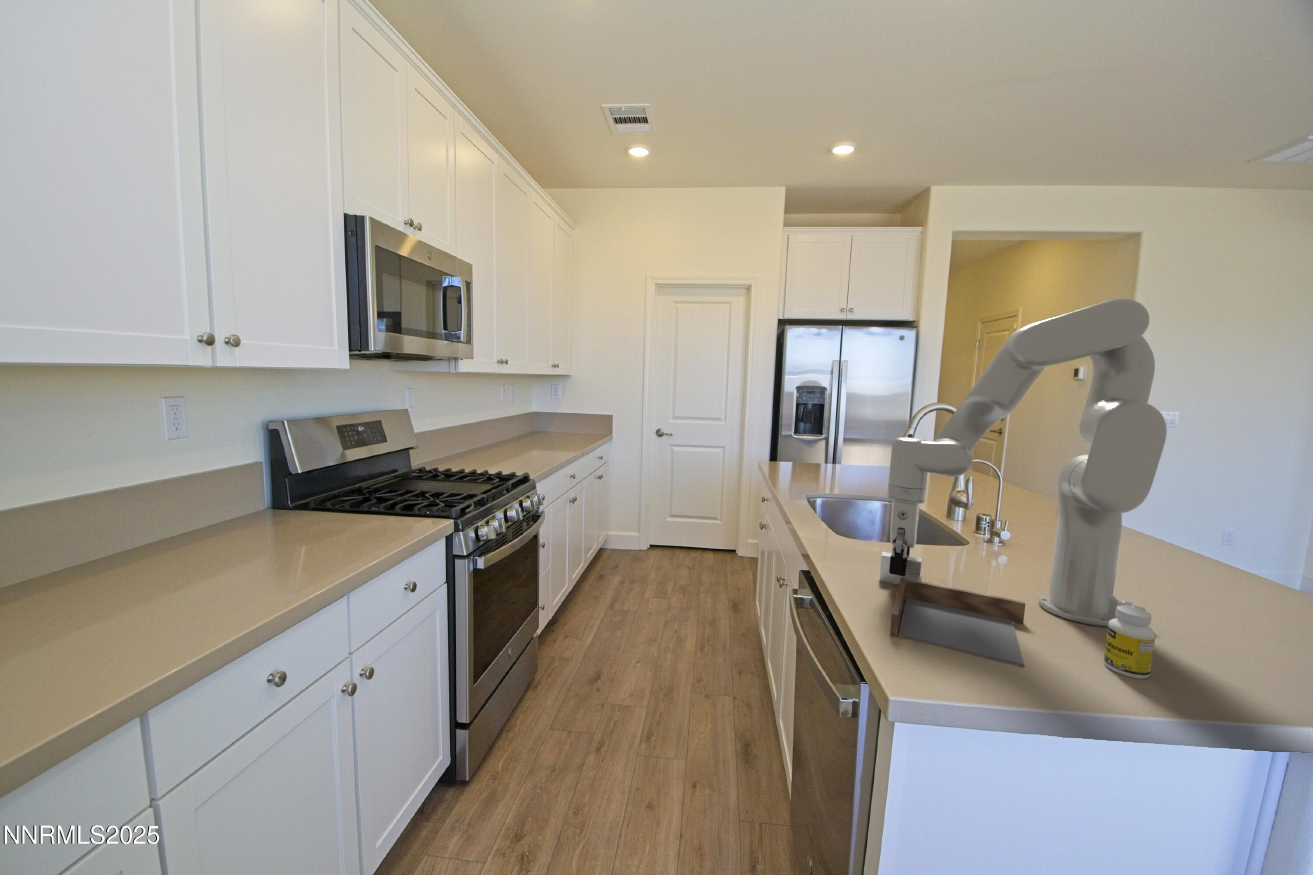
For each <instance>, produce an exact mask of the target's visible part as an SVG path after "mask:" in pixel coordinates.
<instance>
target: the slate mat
mask: <svg viewBox="0 0 1313 875" xmlns="http://www.w3.org/2000/svg"><path fill="white" fill-rule="evenodd" d="M901 616H902V617H901V619H900V621H901V622H900V624H899V629H898V636H899V637H901V638H907V639H910V640H913V641H914V640H915V641H919V642H922V643H926V644H931V645H935V646H939V647H943V648H946V649H950V650H955V651H960V652H963V653H968V654H970V655H975V656H979V657H983V658H987V659H991V660H996V661H999V662H1004V663H1008V664H1011V665H1016V666H1019V667H1025V663H1024V659H1023V656H1022V651H1021V647H1020V645H1019V640H1018V637H1017V633H1016V629H1015V626H1014V622H1012V620H1009V619H1004V618H999V617H994V616H990V615H985V614H980V613H975V612H971V611H966V610H961V609H957V608H952V607H947V606H942V605H938V604H933V603H928V602H923V601H919V600H914V599H909V598H906V599H905V600H904V605H903V610H902V614H901Z"/></svg>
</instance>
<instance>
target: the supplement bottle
mask: <svg viewBox="0 0 1313 875" xmlns="http://www.w3.org/2000/svg"><path fill="white" fill-rule="evenodd" d="M1116 617H1117V618H1114V619H1112V620H1110V621H1109V624H1108V626H1107V632H1106V639H1105V649H1104V654H1103V655H1104V656H1103V663H1104V665H1105V666H1106V667H1107V668H1109V669H1110V670H1111V671H1113V672H1114V673H1118V674H1120V675H1122V676H1124V677H1129V678H1133V679H1141V680H1143V679H1147V678H1149V677H1150V675H1151V671H1152V663H1153V657H1154V655H1153V654H1154V648H1155V641H1156V632H1155V630H1154V629H1153V628H1152V627H1150V625H1151V622H1152V614H1151V613H1150V612H1148V611H1147V610H1146V611H1144V610H1142V609H1138V608H1135V607H1130V606H1117V608H1116Z"/></svg>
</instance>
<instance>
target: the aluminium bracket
mask: <svg viewBox="0 0 1313 875" xmlns="http://www.w3.org/2000/svg"><path fill="white" fill-rule="evenodd" d="M880 555H881V557H880V567H879V568H880V570H879V581H880V580H882V581H881V582H885V581H886V583H889V582H890V583H891V584H894V583H896V585H899V584H900V580H901V577H904V578H907V579H910V580H916V581H921V577H922V563H923V558H921V557H916V556H912V555H911V556H910V555H909V556H906V558H907V564H906V574H905V576H899V575H894V574H890V573H889V567H890V557H891V555H892V552H889V551H888V552H887V551H882V553H881V554H880Z"/></svg>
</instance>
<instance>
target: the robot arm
mask: <svg viewBox="0 0 1313 875" xmlns="http://www.w3.org/2000/svg"><path fill="white" fill-rule="evenodd" d="M1149 324H1150V314H1149V311H1148V309H1147V308H1146V307H1145V306H1144V305H1143V304H1142V303H1140V302H1139V301H1136V300H1134V299H1129V298H1121V297H1120V298H1114V299H1113V298H1111V299H1108V300H1106V301H1102V302H1100V303H1096V304H1093V305H1091V306H1090V305H1089V306H1086V307H1083V308H1080V309H1077V310H1075V311H1072V312H1071V311H1070V312H1068V313H1067V312H1066V313H1065V314H1062V315H1058V316H1055V317H1051V318H1048V319H1047V318H1046V319H1045V320H1041V321H1036V322H1033V323H1030V324H1028V325H1025V326H1023V327H1021V328H1019V329H1017V330H1016V331H1014V332H1012V334H1010V336H1009V337H1008V338H1007V339H1006V340H1005V342H1004V343H1003V344H1002V346H1001V347H1000V348H999V350H998V351H997V353H995V356H994V357H993V359H992V360H991V361H990V362H989V364H988V365H987V367H986V368H985V370H984V371H983V373H982V374H981V375H980V377H978V379H977V381H976V382H975V383H974V385H973V386H972V387H971V389H970V391H969V392H968V393H967V394H966V395H965V397H964V399H963V400H962V401H961V403H960V404H959V406H958V407H957V409H955V411H954V412H953V414H952V415H951V416H950V418H949V419H948V420H947V421H946V423H945V424H944V426H943V427H942V429H941V430H940V432H939V433H938V434H937V435H936V437H935V439H934V440H933V441H928V440H926V439H923V438H919V437H904V436H903V437H896V438H894V440H892V441H893V442H892V444H891V452H890V455H891V456H890V464H889V475H888V487H887V495H886V496H887V497H886V498H887V499H888V500H891V501H892V502H891V504H892V505H891V515H890V516H891V517H890V527H889V529H890V531H889V532H890V534H889V535H890V537H889V543H890V545H892V549H891V553H892V555H891V557H890V567H889V573H890V574H894V575H899V576H905V574H906V564H907V558H906V556H910V551H911V549H915V547H916V544H917V536H918V527H919V518H920V517H919V516H920V505H921V504H925V502H926V494H927V482H928V481H927V480H928V473H929V474H934V475H938V476H941V477H942V476H943V477H945V478H946V477H947V478H948V477H949V478H957V477H960V476H963V475H965V474H966V473H968V471H970V470H971V468H972V466H973V461H974V460H973V455H972V453H971V452H972V450H973V449H974V448H975V446H976V445H977V444H978V442H979V441H980V439H982V437H983V436H984V435H985V434H986V433H987V432H988V431H989V430H990V429H991V428H992V427H993V426H994V425H995V424H996V423H998V422H1000V421H1002V420H1003V419H1004V418H1006V417H1007V416H1009V415H1010V414H1011V413H1012V412H1013V411H1014V410H1015V408H1016V407H1017V406H1018V404H1019V403H1020V401H1021V400H1022V399H1023V397H1024V396H1025V395H1026V393H1027V392H1028V390H1029V389H1030V388H1031V387H1032V385H1033V384H1034V383H1035V381H1036V380H1037V379H1038V378H1039V376H1041V373H1042V372H1043V371H1044V369H1045V368H1047V367H1051V366H1054V365H1059V364H1062V363H1063V364H1064V363H1067V362H1071V361H1075V360H1078V359H1082V358H1085V357H1089V358H1090V359H1091V362H1092V370H1093V371H1092V377H1091V381H1090V382H1091V383H1090V387H1089V391H1088V394H1087V398H1086V401H1085V405H1084V409H1083V412H1082V414H1081V417H1080V422H1079V425H1078V426H1079V430H1078V431H1079V434H1080V435H1081V437H1082V438H1083V440H1084V441H1086V442H1087V443H1088V444H1089V445H1090V448H1089V453H1088V454H1081V455H1078V456H1076V457H1073V458H1072V459H1071V458H1070V459H1069V461H1067V462H1066V463H1065V465H1063V467H1062V469H1061V470H1060V473H1059V476H1058V516H1057V524H1056V525H1057V526H1056V532H1055V540H1054V541H1055V542H1054V547H1053V557H1052V564H1051V565H1052V569H1051V576H1050V583H1049V593H1046V594H1045V593H1044V594H1041V595H1040V596H1038V604H1039V606H1040V607H1041V608H1043V609H1044V610H1046V611H1048V612H1049V613H1051V614H1053V615H1055V616H1058V617H1061V618H1063V619H1067V620H1069V621H1074V622H1077V623H1082V624H1086V625H1091V626H1099V627H1108V624H1109V621H1110V620H1112V619H1114V618H1117V617H1116V608H1117V606H1130V607H1135V608H1138V609H1142V610H1144V611H1146V612H1147V610H1146V606H1140V605H1134V604H1133V602H1132V601H1126V600H1119V599H1117V598H1116V596H1115V595H1114V590H1115V584H1116V574H1117V566H1118V559H1119V552H1120V543H1121V538H1122V526H1123V518H1122V517H1123V516H1122V515H1123V514H1125V513H1129V512H1131V511H1133V510H1136V509H1137V508H1138V507H1140V506H1141V505H1142V504H1143V503H1144V501H1145V500H1146V499H1147V497H1148V495H1149V493H1150V492H1151V489H1152V487H1153V482H1154V480H1155V476H1156V475H1157V470H1158V467H1159V463H1160V460H1161V458H1162V455H1163V454H1162V453H1163V452H1164V451H1163V450H1164V447H1165V444H1166V440H1167V432H1168V430H1167V423H1166V419H1165V417H1164V416H1163V414H1162V413H1161V411H1160V410H1158V409H1157V407H1155V406H1153V405H1152V404H1150V403H1149V399H1150V394H1151V392H1152V391H1151V389H1152V386H1153V381H1154V377H1155V370H1156V369H1155V368H1156V360H1155V357H1154V353H1153V350H1152V348H1151V346H1150V344H1149V343H1148V341H1147V340H1146V339H1145V338H1144V336H1143V335H1144V334H1145V333H1146V331H1147V329H1148V327H1149Z"/></svg>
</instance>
